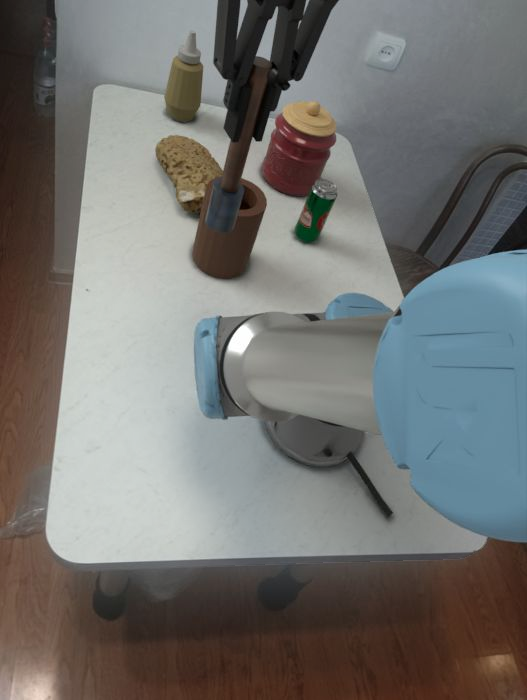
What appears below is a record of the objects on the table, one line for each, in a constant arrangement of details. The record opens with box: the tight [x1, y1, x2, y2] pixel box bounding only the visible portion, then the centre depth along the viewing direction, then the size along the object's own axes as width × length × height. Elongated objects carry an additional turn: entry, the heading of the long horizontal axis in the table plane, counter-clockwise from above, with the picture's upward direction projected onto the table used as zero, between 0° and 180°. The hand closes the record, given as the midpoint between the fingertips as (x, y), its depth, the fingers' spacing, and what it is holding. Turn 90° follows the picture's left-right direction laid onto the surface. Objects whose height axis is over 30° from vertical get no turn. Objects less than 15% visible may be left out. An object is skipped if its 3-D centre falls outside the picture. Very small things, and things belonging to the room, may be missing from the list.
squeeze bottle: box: [163, 30, 204, 123], centre depth 115 cm, size 8×8×18 cm
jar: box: [191, 176, 268, 279], centre depth 92 cm, size 10×10×14 cm
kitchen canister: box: [261, 100, 338, 197], centre depth 111 cm, size 13×13×18 cm
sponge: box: [154, 134, 223, 214], centre depth 104 cm, size 13×8×20 cm
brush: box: [205, 55, 272, 233], centre depth 65 cm, size 4×4×22 cm
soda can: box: [293, 178, 338, 244], centre depth 103 cm, size 5×5×12 cm
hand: (242, 134), depth 63 cm, fingers closed on brush, 2 cm apart
